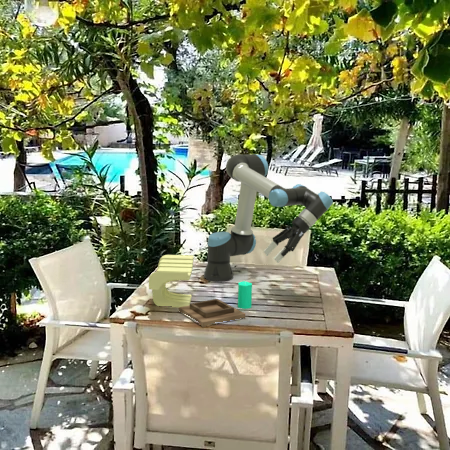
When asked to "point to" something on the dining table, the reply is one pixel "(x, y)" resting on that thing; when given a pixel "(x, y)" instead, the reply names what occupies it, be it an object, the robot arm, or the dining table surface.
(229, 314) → the brown square tray
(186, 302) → the slatted curved stool
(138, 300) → the dining table surface
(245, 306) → the candle
